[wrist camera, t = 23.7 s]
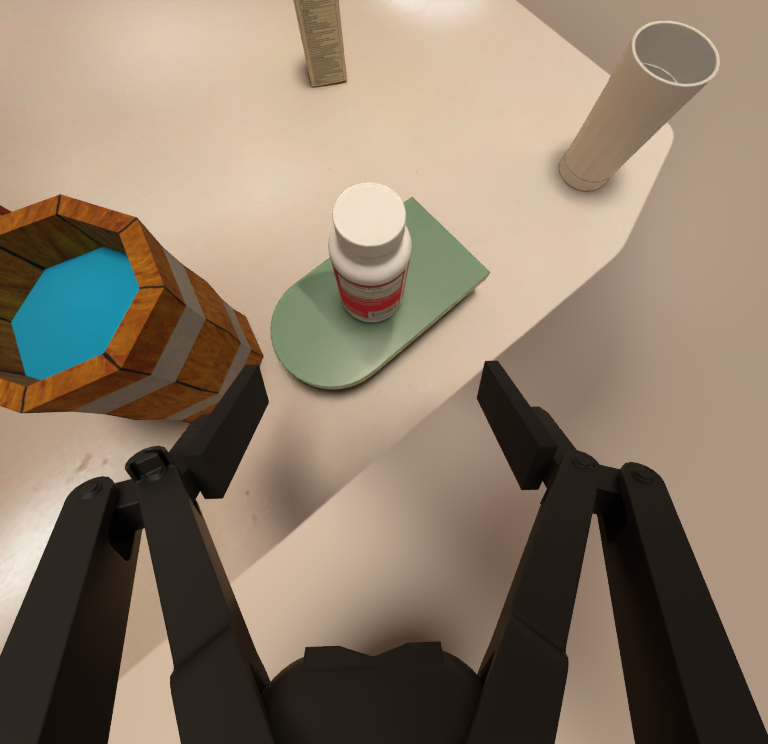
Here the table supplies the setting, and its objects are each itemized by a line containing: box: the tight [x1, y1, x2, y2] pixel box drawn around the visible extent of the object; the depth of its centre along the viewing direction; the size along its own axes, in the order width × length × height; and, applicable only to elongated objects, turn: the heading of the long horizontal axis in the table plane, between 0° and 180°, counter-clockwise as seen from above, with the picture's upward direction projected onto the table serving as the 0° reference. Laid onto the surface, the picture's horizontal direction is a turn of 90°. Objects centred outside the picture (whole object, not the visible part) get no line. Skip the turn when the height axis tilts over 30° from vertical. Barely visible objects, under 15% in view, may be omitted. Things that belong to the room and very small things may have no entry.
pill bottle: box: [328, 182, 412, 322], centre depth 24 cm, size 6×6×11 cm
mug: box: [0, 194, 263, 423], centre depth 24 cm, size 20×14×15 cm
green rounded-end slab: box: [271, 197, 490, 389], centre depth 31 cm, size 22×12×4 cm, turn 131°
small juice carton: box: [294, 0, 347, 87], centre depth 35 cm, size 5×4×10 cm
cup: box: [559, 21, 720, 191], centre depth 32 cm, size 8×8×12 cm
